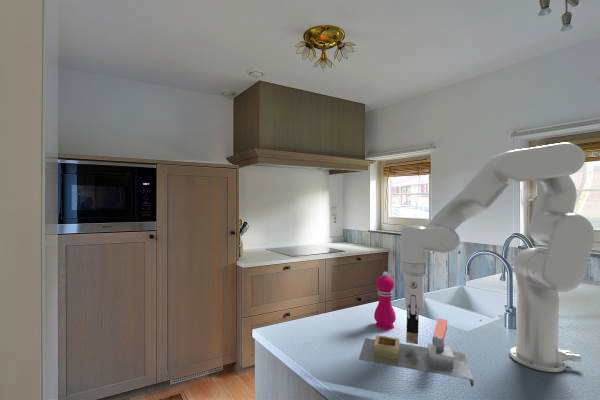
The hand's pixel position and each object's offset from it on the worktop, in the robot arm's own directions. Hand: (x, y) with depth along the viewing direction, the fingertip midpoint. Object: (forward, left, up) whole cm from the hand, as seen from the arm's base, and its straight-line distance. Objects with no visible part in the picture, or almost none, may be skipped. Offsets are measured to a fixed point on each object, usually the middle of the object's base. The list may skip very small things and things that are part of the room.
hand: (412, 329), depth 94 cm
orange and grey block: (-7, +6, -3) cm, 9 cm away
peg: (0, 0, -4) cm, 4 cm away
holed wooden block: (+7, +5, -6) cm, 10 cm away
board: (0, +5, -7) cm, 8 cm away
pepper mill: (+9, -14, -7) cm, 18 cm away
